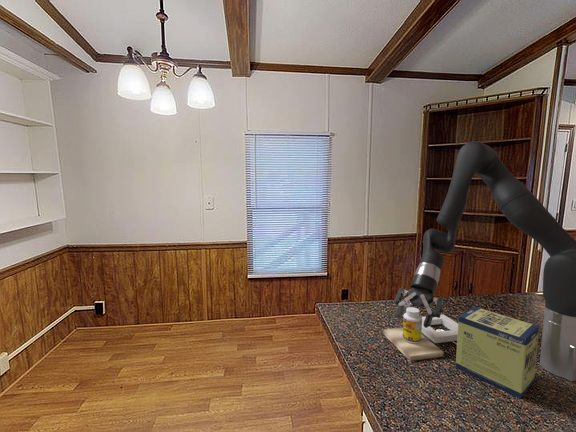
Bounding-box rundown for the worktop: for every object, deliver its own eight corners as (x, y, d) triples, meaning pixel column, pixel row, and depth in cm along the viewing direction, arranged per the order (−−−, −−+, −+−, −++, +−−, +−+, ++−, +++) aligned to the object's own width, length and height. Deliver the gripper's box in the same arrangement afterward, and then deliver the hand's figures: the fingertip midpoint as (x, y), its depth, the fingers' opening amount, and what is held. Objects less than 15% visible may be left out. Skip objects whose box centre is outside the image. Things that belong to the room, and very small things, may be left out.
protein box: (522, 400, 70) (527, 339, 68) (454, 367, 83) (457, 315, 81) (535, 382, 76) (540, 325, 75) (470, 354, 89) (473, 305, 87)
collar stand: (472, 338, 98) (472, 332, 98) (435, 343, 95) (435, 337, 95) (443, 319, 111) (443, 314, 111) (409, 323, 109) (410, 317, 109)
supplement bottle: (398, 336, 97) (399, 307, 95) (412, 334, 98) (414, 304, 97) (410, 345, 91) (411, 314, 90) (425, 342, 93) (426, 311, 92)
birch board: (443, 356, 88) (443, 351, 88) (410, 360, 86) (410, 356, 86) (411, 330, 104) (411, 326, 103) (383, 333, 102) (383, 329, 102)
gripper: (402, 269, 103) (386, 310, 96) (446, 277, 93) (432, 324, 87) (408, 280, 108) (393, 320, 101) (450, 289, 98) (437, 334, 91)
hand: (411, 322), depth 94 cm, fingers open, 8 cm apart
